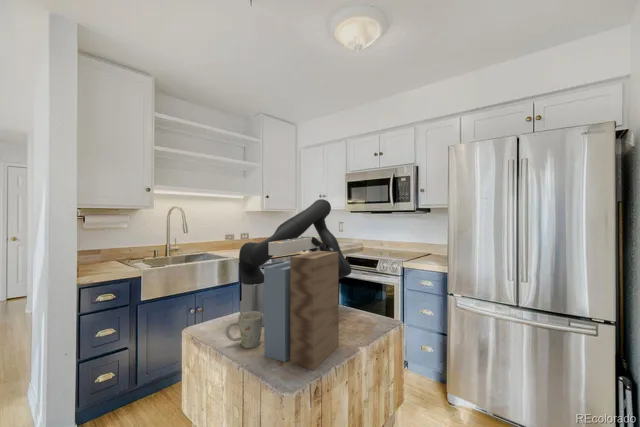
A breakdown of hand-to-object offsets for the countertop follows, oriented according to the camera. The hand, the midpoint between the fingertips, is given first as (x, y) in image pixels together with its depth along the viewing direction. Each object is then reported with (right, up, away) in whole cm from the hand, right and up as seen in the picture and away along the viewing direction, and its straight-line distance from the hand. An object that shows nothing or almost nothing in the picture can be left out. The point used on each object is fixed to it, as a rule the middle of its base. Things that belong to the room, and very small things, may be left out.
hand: (306, 239), depth 108 cm
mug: (-21, -36, -8) cm, 42 cm away
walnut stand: (+4, -36, -15) cm, 39 cm away
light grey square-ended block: (-3, -4, -6) cm, 8 cm away
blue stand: (-5, -36, -10) cm, 37 cm away
